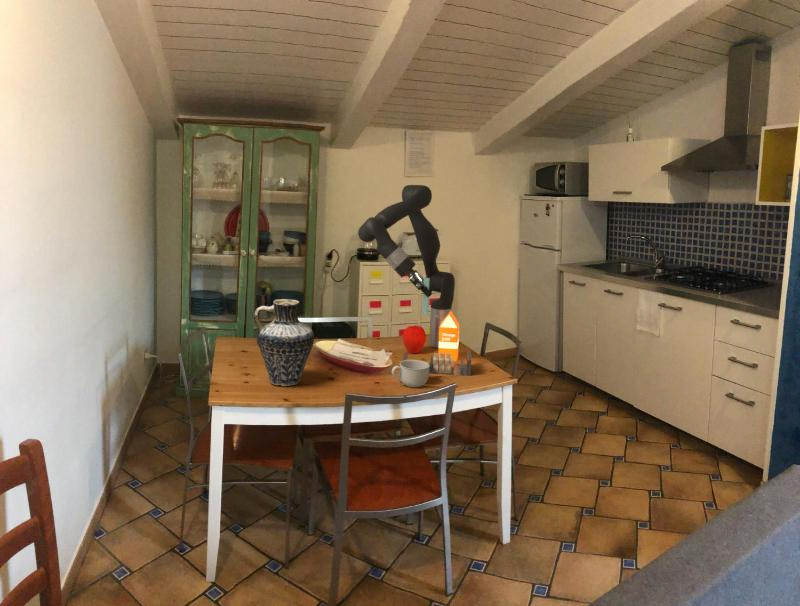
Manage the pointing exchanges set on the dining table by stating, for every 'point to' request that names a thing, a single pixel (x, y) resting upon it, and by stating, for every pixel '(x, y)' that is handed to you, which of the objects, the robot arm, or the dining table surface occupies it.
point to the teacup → (412, 372)
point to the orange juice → (449, 336)
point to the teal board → (425, 297)
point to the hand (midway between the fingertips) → (430, 294)
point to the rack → (455, 369)
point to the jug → (284, 342)
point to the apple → (414, 338)
